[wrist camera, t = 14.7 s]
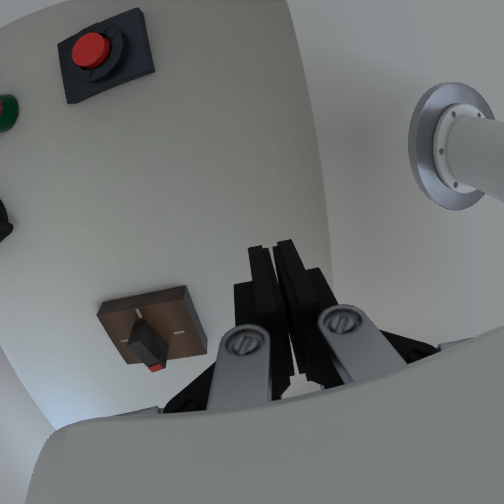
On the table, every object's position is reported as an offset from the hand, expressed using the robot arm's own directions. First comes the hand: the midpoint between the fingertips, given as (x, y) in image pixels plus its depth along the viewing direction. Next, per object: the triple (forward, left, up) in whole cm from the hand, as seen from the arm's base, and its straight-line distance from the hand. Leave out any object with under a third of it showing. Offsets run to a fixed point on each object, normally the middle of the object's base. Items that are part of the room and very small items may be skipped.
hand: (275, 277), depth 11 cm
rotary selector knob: (+17, +18, -19) cm, 31 cm away
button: (+12, -17, -19) cm, 28 cm away
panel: (+17, +18, -23) cm, 33 cm away
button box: (+12, -17, -23) cm, 31 cm away
